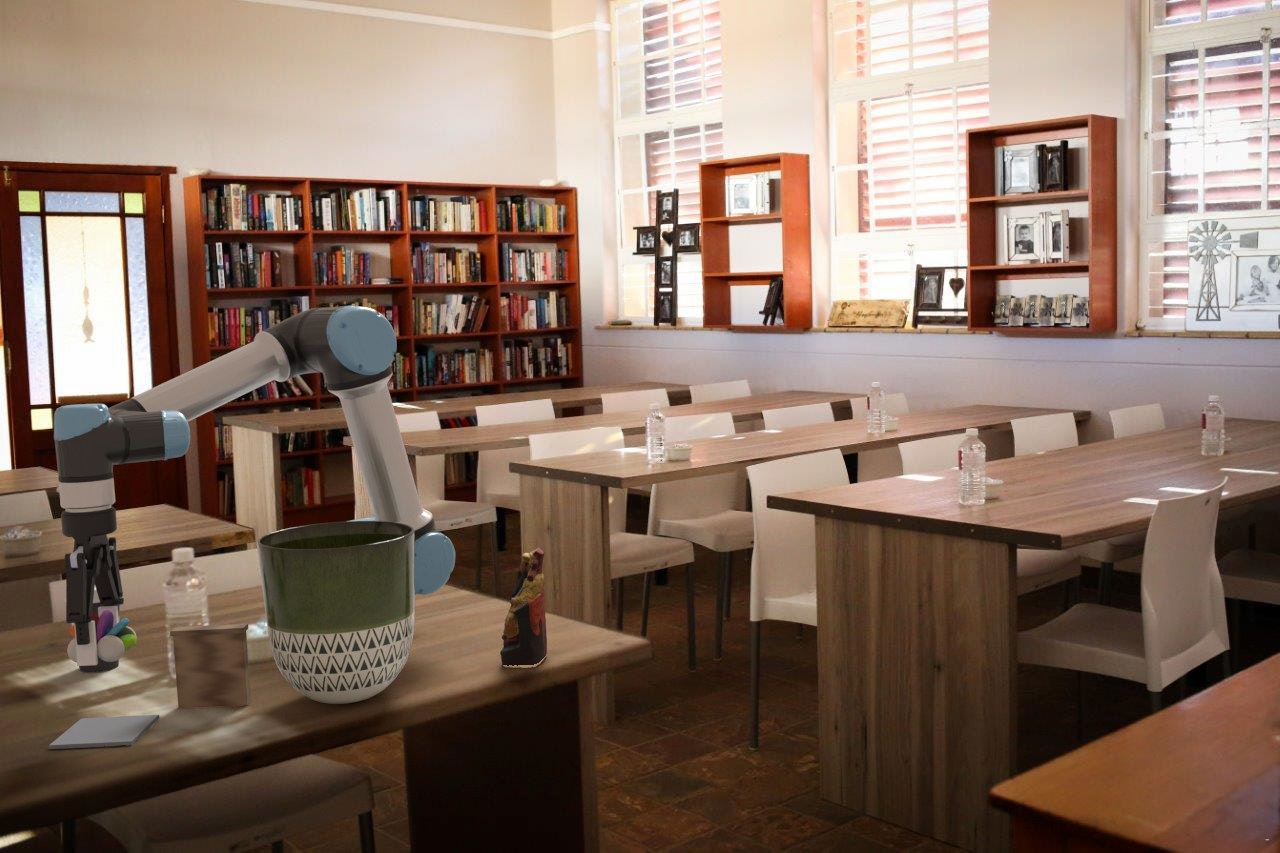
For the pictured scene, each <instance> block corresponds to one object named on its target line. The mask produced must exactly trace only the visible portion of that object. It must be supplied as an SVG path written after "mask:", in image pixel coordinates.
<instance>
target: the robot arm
mask: <svg viewBox="0 0 1280 853" xmlns="http://www.w3.org/2000/svg"><path fill="white" fill-rule="evenodd" d="M397 342H398V341H397V337H396V333H395V331H394V328H393V326H392V324H391V323H390V321H389V320H388V319H387V318H386V316H385V315H383V314H382V313H381V312H379V311H377V310H375V309H373V308H370V307H365V306H359V305H342V306H330V307H325V306H324V307H314V308H309V309H307V310H303V311H300V312H299V313H296V314H294V315H291V316H290V317H288V318H286V319H284V320H282V321H280V322H277V323H275V324H273V325H272V326H271V327H268V328H265V329H263V330H261V331H259V332H257V333H256V335H255V336H254V338H253V341H251V342H249V343H248V344H246V345H243V346H240V347H239V348H236V349H234V350H232V351H230V352H227V353H226V354H223V355H221V356H219V357H217V358H215V359H213V360H211V361H209V362H206V363H204V364H202V365H199V366H198V367H195V368H193V369H191V370H189V371H187V372H184V373H182V374H180V375H178V376H175V377H174V378H171V379H169V380H167V381H165V382H162V383H161V384H160V383H159V385H157V386H154V387H152V388H149V389H147V390H145V391H144V392H141V393H138V394H137V395H135V396H132V397H130V398H129V399H126V400H124V401H121V402H119V403H117V404H115V405H112V406H111V407H108V406H107V405H106V404H104V403H85V404H80V403H79V404H69V405H68V404H67V405H62V406H60V407H58V408H57V409H56V410H55V411H54V415H53V418H54V421H53V440H54V446H55V456H56V464H57V476H58V477H57V478H58V487H56V493H58V494H59V500H60V507H61V508H62V509H65V510H62V512H61V514H60V518H61V519H60V520H61V530H62V531H61V533H62V535H63V536H64V537H67V538H72V539H73V540H74V542H73V551H72V553H71V552H69V553H65V555H64V564H65V569H66V571H65V572H66V573H65V574H66V575H65V576H66V578H65V579H66V580H65V581H66V582H65V583H66V584H65V585H66V586H65V588H66V589H65V590H66V591H65V592H66V594H65V597H66V602H65V606H66V607H65V610H66V611H65V613H66V614H65V617H66V618H65V619H66V620H65V622H66V623H67V624H72V623H74V629H75V642H76V655H77V663H76V665H77V666H78V667H79V666H87V665H97V664H98V657H97V644H96V631H95V621H91V619H92V608H93V598H94V588H95V587H96V590H97V593H98V597H99V600H100V604H101V605H104V606H102V607H98V616H99V618H100V616H101V614H102V612H103V611H104V610H110V611H111V612H112V613H113V616H114V623H113V627H114V626H115V625H116V624H117V623H118V622H119V621H120V618H119V619H118V606H116V605H120V606H121V605H124V602H125V599H124V597H123V596H124V592H123V587H122V586H123V585H122V580H121V573H120V572H121V571H120V567H119V560H118V554H117V553H118V552H117V538H116V537H115V536H114V537H113V536H112V537H111V536H109V537H108V536H107V535H109V534H113V533H115V532H116V531H117V529H118V525H117V523H118V521H117V509H116V508H115V507H114V506H113V505H114V504H115V503H116V493H115V491H116V490H115V479H114V471H113V470H114V465H117V466H119V465H123V464H130V463H131V464H133V463H141V462H150V461H161V460H162V461H167V460H168V459H174V458H180V457H183V456H184V455H185V454H186V453H187V452H188V450H189V449H190V445H191V444H190V443H191V428H190V425H189V422H190V421H192V420H194V419H196V418H198V417H201V416H202V415H204V414H206V413H208V412H211V411H213V410H215V409H217V408H219V407H221V406H223V405H225V404H227V403H229V402H231V401H233V400H235V399H239V397H241V396H243V395H246V394H248V393H250V392H252V391H255V390H256V389H259V388H260V387H263V386H265V385H266V384H268V383H270V382H273V381H277V382H278V383H283V382H286V381H287V380H290V379H291V378H294V377H297V376H301V375H306V374H314V373H315V374H316V373H322V374H323V379H324V381H325V385H326V389H327V391H328V392H329V393H330V394H333V395H335V396H336V397H338V398H339V401H340V405H341V408H342V412H343V415H344V418H345V421H346V424H347V428H348V432H349V436H350V439H351V442H352V445H353V448H354V452H355V455H356V459H357V463H358V466H359V469H360V472H361V475H362V480H363V483H364V486H365V490H366V492H367V497H368V500H369V503H370V507H371V511H372V514H373V516H371V517H364V518H363V517H362V518H358V519H352V520H350V521H386V522H396V523H402V524H406V525H409V526H411V527H413V528H414V541H415V558H414V589H415V592H414V596H415V595H418V596H428V595H431V594H434V593H435V592H437V591H439V590H441V588H443V587H444V586H445V585H446V583H447V582H448V581H449V579H450V577H451V576H450V575H451V573H452V572H453V571H454V568H455V565H456V564H455V563H456V550H455V547H454V544H453V542H452V541H451V539H450V538H449V537H448V536H446V535H445V534H444V533H442V532H438V530H437V527H436V523H435V519H434V517H433V514H432V512H431V511H429V510H427V509H425V508H423V507H422V504H421V501H420V498H419V497H420V496H419V494H418V490H417V487H416V484H415V480H414V475H413V472H412V468H411V466H410V462H409V458H408V455H407V451H406V447H405V444H404V440H403V436H402V433H401V430H400V429H401V428H400V426H399V423H398V419H397V415H396V411H395V408H394V405H393V400H392V397H391V394H390V391H389V387H388V383H389V381H390V379H391V378H392V376H393V375H394V374H393V369H392V365H391V364H392V363H393V361H394V359H395V356H394V355H395V354H396V353H397V348H398V346H397ZM347 521H348V520H346V521H345V522H347Z"/></svg>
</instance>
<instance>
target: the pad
mask: <svg viewBox="0 0 1280 853" xmlns="http://www.w3.org/2000/svg"><path fill="white" fill-rule="evenodd" d="M159 720H160V714H147V715H143V714H142V715H124V716H123V715H121V716H104V717H100V716H99V717H85V718H84V717H82V718H80V719H79V720H77V722H75V723H74V724H73V725H72V726H71V727H70V728H68V729H67V730H65V731H64V732H63V733H62V734H61V735H60V736H58V737H57V738H56V739H55V740H54V741H52V742H51V743H50V744H49V745H48V748H49V750H59V749H80V748H81V749H82V748H99V747H101V748H103V747H104V746H105V747H117V746H116V745H126V746H133V745H134V744H135V743H136V742H137V741H138V740H139V739H140V738H141V737H142V736H143V735H144V734H145V733H146V732H147V731H148V730H149V729H150V728H151V727H152V726H153V725H155V723H156V722H157V721H159ZM134 742H135V743H134ZM132 744H133V745H132ZM114 745H115V746H114Z"/></svg>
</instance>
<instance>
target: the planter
mask: <svg viewBox="0 0 1280 853" xmlns="http://www.w3.org/2000/svg"><path fill="white" fill-rule="evenodd" d="M346 521H347V522H346ZM346 521H334V522H325V523H324V522H323V523H313V524H307V525H306V524H305V525H300V526H294V527H289V528H285V529H280V530H276V531H272V532H270V533H267V534H265V535H262V536H261V537H259V538H258V539H257V541H256V545H257V546H256V547H257V554H258V555H257V556H258V566H259V570H260V571H259V572H260V577H261V578H260V579H261V587H262V596H263V603H264V605H263V606H264V611H265V612H264V613H265V620H266V627H267V634H268V640H269V645H270V649H271V653H272V656H273V659H274V662H275V664H276V666H277V669H278V670H279V673H280V674H281V675H282V677H283V678H284V680H286V682H287V684H289V685H290V686H291V687H292V688H293V689H295V690H296V691H297V692H299V693H300V694H301V695H302V696H305V697H306V698H309V699H310V700H313V701H316V702H319V703H324V704H330V705H344V704H353V703H357V702H361V701H364V700H368V699H370V698H372V697H374V696H377V695H378V694H380V693H381V692H383V691H384V690H385V689H386V688H387V687H389V686H390V685H391V684H392V682H394V681H395V679H396V678H397V677H398V676H399V674H400V673H401V672H402V670H403V668H404V667H405V665H406V663H407V661H408V659H409V656H410V652H411V648H412V644H413V639H414V638H413V637H414V632H415V631H414V630H415V629H414V628H415V595H414V592H415V589H414V558H415V541H414V528H413V527H411V526H409V525H406V524H402V523H396V522H386V521H351V520H346Z"/></svg>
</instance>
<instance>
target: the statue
mask: <svg viewBox="0 0 1280 853" xmlns="http://www.w3.org/2000/svg"><path fill="white" fill-rule="evenodd" d="M544 557H545V551H544V550H543V549H541V548H540V547H539V548H538V547H537V548H535V550H532V551H530V552H523V554H522V556H521V558H522V559H521V561H520V566H519V568H518V571H517V572H518V573H517V578H516V582H515V586H514V589H512V590H511V593H510V600H509V602H510V607H509V609H508V612H507V614H506V617H505V620H504V626H503V627H504V629H503V632H502V633H503V634H502V635H501V639H502V641H503V645H502V646H503V647H502V648H501V650H500V652H499V653H500V660H501V666H503V665H507V666H509V665H512V666H514V665H517V666H518V665H534V664H537V663H539V662H540V661H541V660H542V659H543V658H544V657H545V656H546V654H547V655H548V639H547V638H548V637H547V622H546V621H547V620H546V594H545V593H546V591H545V584H546V582H545V581H546V580H545V575H544V574H543V565H544V564H543V560H544Z"/></svg>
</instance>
